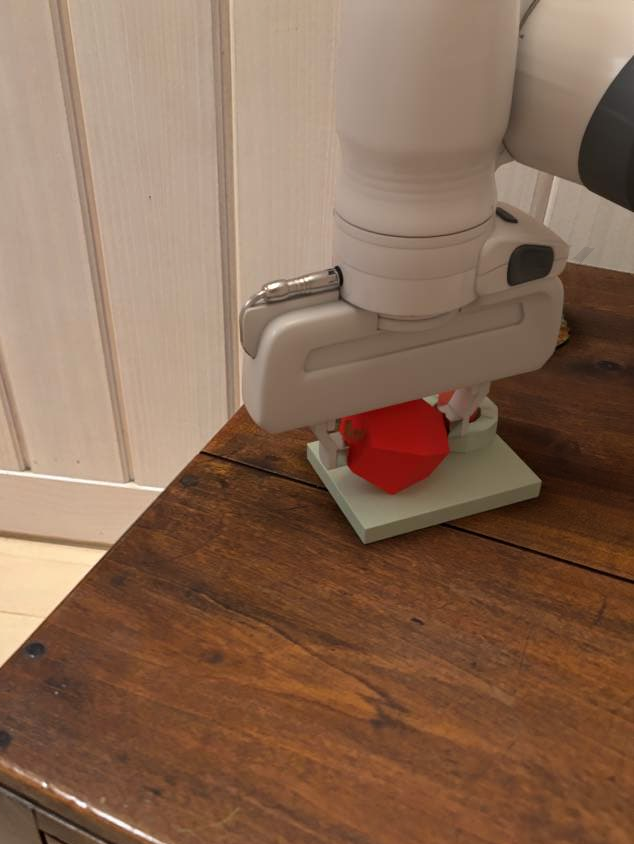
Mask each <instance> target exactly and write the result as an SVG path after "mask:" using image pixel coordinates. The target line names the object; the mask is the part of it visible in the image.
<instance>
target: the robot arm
mask: <svg viewBox="0 0 634 844" xmlns="http://www.w3.org/2000/svg"><path fill="white" fill-rule="evenodd" d="M336 60H337V61H336V79H335V111H334V113H335V115H334V120H335V122H334V123H335V128H336V134H337V137H338V141H339V144H340V151H341V152H340V153H341V166H340V172H339V175H338V180H337V182H336V185H335V189H334V192H333V199H332V200H333V201H332V203H333V209H332V247H331V248H332V250H331V251H332V252H331V254H332V255H331V267H330V268H326V269H323V270H318V271H313V272H308V273H306V274H303V275H301V276H297V277H293V278H288V279H285V278H281V279H275V280H271V281H268V282H266V283H264V284H263V285H262V286H261V290H259V291H258V292H256V293H254V294H253V295H252V296H250V297H249V298H248V299H247V300H246V301H245V303H244V304H243V305H242V306H241V307H240V310H239V315H238V327H239V342H240V346H241V348H242V350H243V358H242V367H241V369H242V370H241V398H242V402H243V405H244V407H245V409H246V411H247V412H248V415H249V416H250V418H251V419H252V420H253V422H254V423H255V424H256V425H257V426H258V427H259V428H260V429H262V430H263V431H265V432H266V433H267V434H269V435H277V434H282V433H287V432H290V431H293V430H298V429H302V428H306V427H309V429H310V430H311V432H312V433H313V435H314V436H315V437H316V439H317V441H319V457H320V460H321V462H322V463H323V465H324V466H325V468H326V469H327V470H332V469H336V468H340V467H343V466H347V465H349V463H350V460H349V458H348V457H349V455H350V445H349V444H348V443H347V441H345V440H343V436H342V434H341V433H340V432H339V431H335V429H336V425H337V424H336V421H337V420H338V419H342V418H343V417H347V416H351V415H355V414H360V413H364V412H368V411H372V410H376V409H380V408H384V407H388V406H392V405H396V404H400V403H404V402H408V401H412V400H416V399H421V398H425V397H429V396H433V395H437V394H441V393H445V392H449V391H453V390H456V391H455V393H454V395H453V396H452V398H451V400H450V401H449V403H448V404H447V405H444V406H440V407H438V408H437V410H438V411H439V412H440V413H441V414H443V415H444V421H445V426H446V432H447V438H448V439H452V438H456V437H460V436H464V435H466V434H467V431H468V424H469V418H470V416H471V415H472V414H473V413H474V412H475V410H476V409H477V408H478V406H479V405H480V404H481V402H482V401H483V400H484V398H485V397H488V394H489V393H490V390H491V389H490V388H491V382H494V381H498V380H502V379H506V378H510V377H515V376H518V375H523V374H526V373H530V372H535V371H538V370H540V369H541V368H542V367H543V366H544V365H545V364H546V363H547V361H549V359H550V358H551V357H552V356H553V354H554V353H555V351H556V347H557V346H556V344H557V340H558V335H559V330H560V324H561V318H562V313H563V310H564V303H565V301H564V300H565V289H564V285H563V282H562V280H561V279H560V278H559V276H560V275H561V274H562V273H563V271H564V270H565V268H566V266H567V262H568V259H569V255H570V254H569V253H570V246H569V243H567V242H566V241H565V240H564V239H563V238H562V237H561V236H559V235H558V234H557V233H556V232H555V231H554V230H552V229H551V228H550V227H549V226H547V225H546V224H544V223H543V222H542V221H540V220H538V219H537V218H536V217H534V216H533V215H531V214H529V213H528V212H525V211H524V210H523V209H520V208H518V207H516V206H514V205H512V204H511V203H509V202H505V201H499V200H498V189H497V181H496V175H495V174H496V172H497V170H498V169H499V168H500V167H501V166H504V165H506V164H509V163H512V162H514V161H515V162H516V163H518V164H521V165H522V166H525V167H528V168H532V169H534V170H537V171H539V172H542V173H546V174H548V175H551V176H554V177H557V178H559V179H562V180H565V181H567V182H571V183H573V184H576V185H580V186H582V187H585V188H586V189H587V190H588V191H589V192H591V193H592V194H595V195H597V196H599V197H600V198H603V199H605V200H607V201H609V202H611V203H613V204H614V205H617V206H619V207H621V208H623V209H625V210H628V211H630V212H631V213H634V0H343V5H342V12H341V18H340V27H339V35H338V45H337V59H336ZM332 431H333V432H332ZM334 431H335V432H334ZM328 432H331V433H328Z"/></svg>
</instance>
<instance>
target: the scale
mask: <svg viewBox="0 0 634 844" xmlns="http://www.w3.org/2000/svg"><path fill="white" fill-rule="evenodd" d="M438 396H439V394H437V395H433V396H429V397H425V398H422V399H424V400H425V401H426V402H427V403H429V404H430V405H431V406H433V407H434V408H435V409H436V410H437V404H438ZM498 422H499V408H498V406H497V405H496V404H495V403H494V402H493V401H492V400H491V399H490V398H489V397H488V396H486V397H485V398H484V400H483V401H482V402H481V404H480V405H479V406H478V409H477V416H476V419H475V420H474V421H473V422H472V423H469V424H468V431H467V434H466V435H464V436H460V437H456V438H452V439H448V444H449V449H450V453H449V454H448V455H447V456H446V458H445V459H444V460H443V461H442V462H441V463H440V464H439V465H438V466H437V468H436V469H435V470H434V471H433V472H432V473H431V474H430V475H429V477H427V478H425V479H423V480H421V481H419V482H417V483H415V484H413V485H411V486H409V487H407V488H405V489H403V490H402V491H400V492H398V493H396V494H394V495H390V494H389V493H387V492H385V491H383V490H382V489H380V488H378V487H377V486H375V485H373V484H371V483H370V482H368V481H366V480H364V479H363V478H361V477H359V476H358V475H356V474H354V473H352V471H351V470H350V469H349V467H348V466H343V467H340V468H336V469H332V470H327V469H326V468H325V466H324V465H323V463H322V462H321V460H320V457H319V440H315V441H311V442H307V444H306V459H307V461H308V462H309V464H310V465H311V466H312V468H313V470H314V471H315V473H316V475H317V476H318V477H319V479H320V480H321V481H322V483H323V484H324V486H325V487H326V489H327V491H328V492H329V493H330V495H331V497H332V498H333V500H334V501H335V503H336V504H337V505H338V507H339V508H340V510H341V512H342V514H343V515H344V517H346V519H347V521H348V522H349V524H350V525H351V527H352V528H353V530H354V531H355V533H356V534H357V536H358V537H359V539H360V540H361V541H362V543H363V545H367V544H371V543H375V542H379V541H382V540H386V539H388V538H392V537H396V536H399V535H404V534H407V533H410V532H414V531H419V530H422V529H425V528H429V527H433V526H437V525H440V524H444V523H447V522H450V521H455V520H459V519H462V518H465V517H470V516H472V515H473V516H474V515H476V514H480V513H483V512H487V511H491V510H494V509H498V508H501V507H505V506H509V505H512V504H517V503H520V502H523V501H528V500H531V499H535V498H538V497H539V496H540V492H541V487H542V482H543V481H542V480H541V478H539V477H538V475H537V474H536V473H535V472H534V470H532V469H531V468H530V467H529V466H528V464H526V463H525V461H523V459H521V458H520V457H519V455H517V453H516V452H515V451H514V450H513V449H512V448H511V447H510V446H509V445H508V444H507V443H506V442H505V441H504V439H502V437H500V435H498V434H497V428H498Z"/></svg>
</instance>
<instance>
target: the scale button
mask: <svg viewBox="0 0 634 844" xmlns="http://www.w3.org/2000/svg"><path fill="white" fill-rule="evenodd" d="M455 391H456V390H453V391H449V392H445V393H441V394H439V396H438V404H437V408H438V407H440V406H444V405H447V404H448V403H449V401H450V400H451V398H452V396H453V395H454V393H455ZM477 409H478V408H477ZM477 409H476V410H475V412H474V413H473V414H472V415H471V416H470V418H469V423H472V422H473V421H474V420H475V419H476V416H477Z"/></svg>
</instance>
